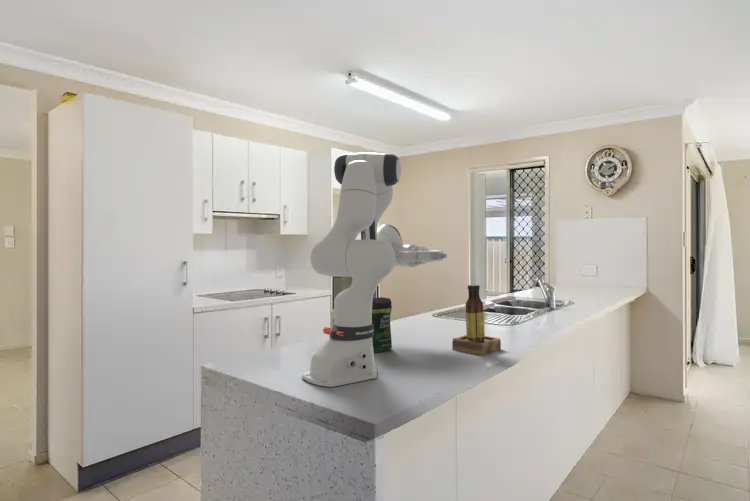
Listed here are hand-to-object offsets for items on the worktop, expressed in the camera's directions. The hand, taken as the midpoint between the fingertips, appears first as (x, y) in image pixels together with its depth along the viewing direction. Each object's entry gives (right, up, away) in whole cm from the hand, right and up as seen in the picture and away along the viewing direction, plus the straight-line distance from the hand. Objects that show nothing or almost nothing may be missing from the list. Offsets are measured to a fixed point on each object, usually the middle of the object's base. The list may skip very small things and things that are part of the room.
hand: (437, 256), depth 170 cm
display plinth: (+13, -33, -8) cm, 36 cm away
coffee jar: (-22, -33, -8) cm, 41 cm away
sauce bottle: (+12, -30, -9) cm, 33 cm away
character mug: (-36, -33, +1) cm, 49 cm away
